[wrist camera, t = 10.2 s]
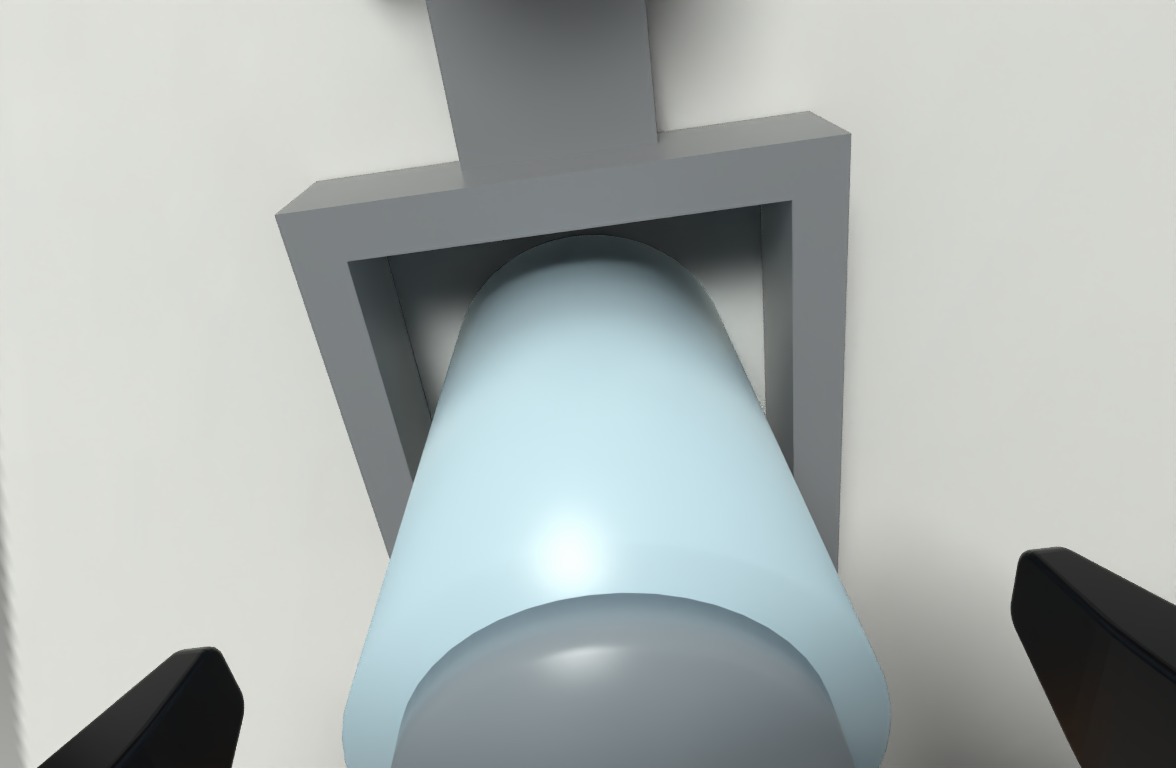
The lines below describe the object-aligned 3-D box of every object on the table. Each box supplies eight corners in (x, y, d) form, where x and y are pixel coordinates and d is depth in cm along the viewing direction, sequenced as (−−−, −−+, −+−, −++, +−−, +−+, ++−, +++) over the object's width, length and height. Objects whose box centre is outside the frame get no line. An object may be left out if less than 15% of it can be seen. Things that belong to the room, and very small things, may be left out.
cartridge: (731, 459, 15) (899, 943, 7) (485, 490, 15) (406, 992, 8) (719, 216, 13) (943, 561, 5) (428, 256, 13) (233, 644, 5)
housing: (805, 769, 20) (829, 846, 18) (504, 801, 20) (498, 880, 18) (813, -729, 8) (883, -932, 6) (83, -593, 8) (-48, -749, 6)
